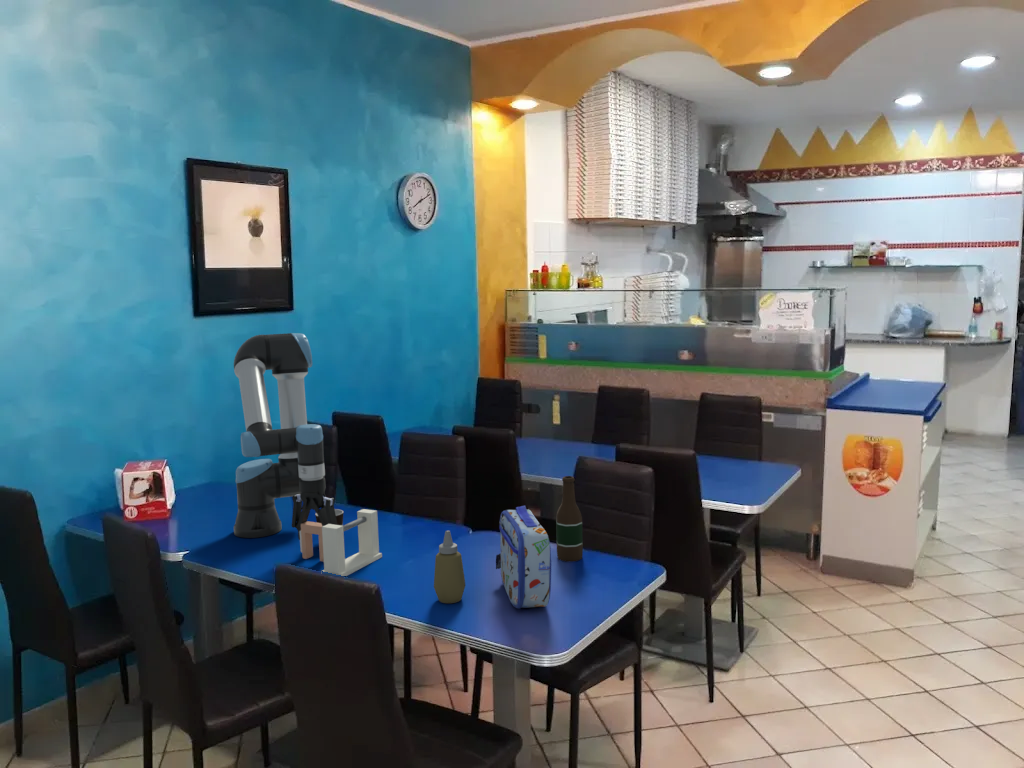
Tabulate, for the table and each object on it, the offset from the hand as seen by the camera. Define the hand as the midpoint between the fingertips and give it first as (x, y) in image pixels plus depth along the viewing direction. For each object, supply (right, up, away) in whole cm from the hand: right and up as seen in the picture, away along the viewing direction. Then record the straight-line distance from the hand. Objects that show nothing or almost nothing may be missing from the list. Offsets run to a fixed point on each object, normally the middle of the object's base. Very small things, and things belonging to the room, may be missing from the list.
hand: (316, 552), depth 246 cm
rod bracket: (+12, -2, -7) cm, 14 cm away
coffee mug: (+2, 0, +15) cm, 15 cm away
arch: (0, -2, 0) cm, 2 cm away
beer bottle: (+75, -1, -5) cm, 75 cm away
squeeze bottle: (+42, -5, -34) cm, 54 cm away
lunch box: (+61, -5, -32) cm, 69 cm away
